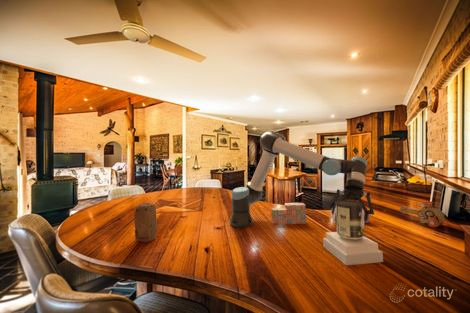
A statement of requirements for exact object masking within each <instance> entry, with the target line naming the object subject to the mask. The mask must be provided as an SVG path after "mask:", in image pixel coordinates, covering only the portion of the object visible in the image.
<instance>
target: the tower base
mask: <svg viewBox="0 0 470 313" xmlns="http://www.w3.org/2000/svg"><path fill="white" fill-rule="evenodd" d="M322 243H323V244H322V245H323V246H322V247H323V248H325V249H326V250H327V251H328V252H329V253H330V254H332V255H333V256H334V257H335V258H337V260H339V261H340V262H341V263H343V265H345V266H354V265H356V266H357V265H364V264H373V263H375V264H377V263H384V257H383V256H384V255H383V252H384V251H382V250H380V249H379V243H378V242H376V241H373V240H371V239H369V238H368V237H366V236H364V237H363V238H362V239H348V238H344V237H341V236H339V235H338V234H337V231H331V232H330V231H326V232H325V237H323V238H322Z"/></svg>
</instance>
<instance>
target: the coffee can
mask: <svg viewBox="0 0 470 313" xmlns="http://www.w3.org/2000/svg"><path fill="white" fill-rule="evenodd" d="M335 204H336V232H337V234H338V235H339V236H341V237H344V238H348V239H362V238H363V237H365V235H364V229H361V226H360V224H361V217H362V204H361V203H359V202H358V201H354V200H348V201H345V200H343V201H339V200H338V201H336V202H335Z"/></svg>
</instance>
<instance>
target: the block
mask: <svg viewBox="0 0 470 313" xmlns="http://www.w3.org/2000/svg"><path fill="white" fill-rule="evenodd" d="M133 221H134V222H133V223H134V228H135V229H134V238H135V241H137V242H140V241H141V242H142V243H149V242H152V241H153V240H155V238H156V235H157V233H158V232H157V228H158V225H157V224H158V222H157V207H156V204H155V203H153V202H152V203H150V202H146V203H145V202H144V203H140V204H139V205H137V206H136V207H135V209H134V213H133ZM141 242H140V243H141Z"/></svg>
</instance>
